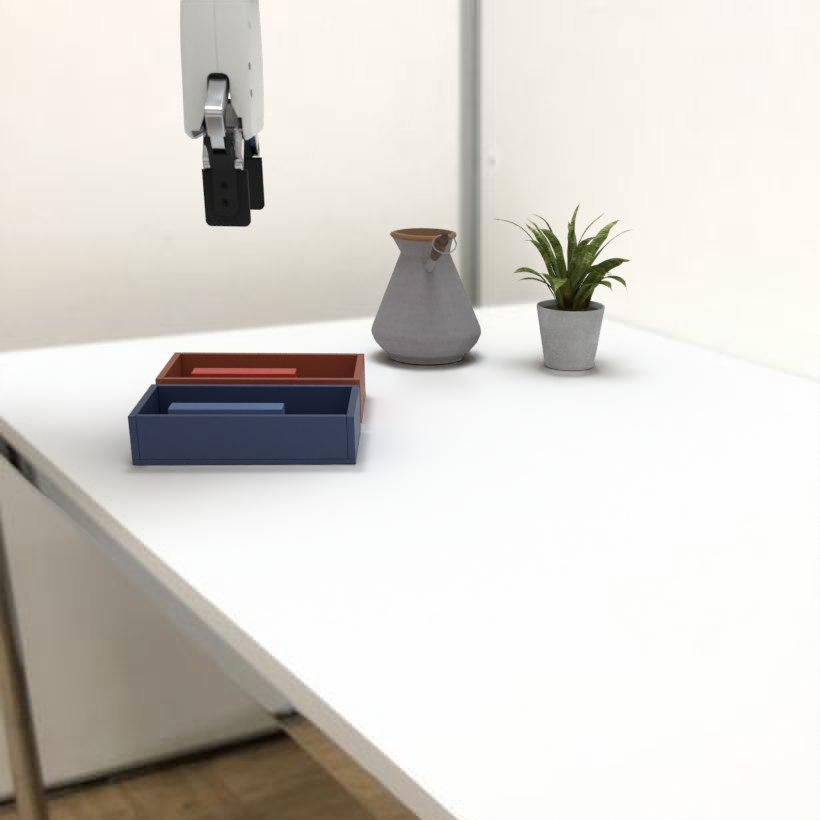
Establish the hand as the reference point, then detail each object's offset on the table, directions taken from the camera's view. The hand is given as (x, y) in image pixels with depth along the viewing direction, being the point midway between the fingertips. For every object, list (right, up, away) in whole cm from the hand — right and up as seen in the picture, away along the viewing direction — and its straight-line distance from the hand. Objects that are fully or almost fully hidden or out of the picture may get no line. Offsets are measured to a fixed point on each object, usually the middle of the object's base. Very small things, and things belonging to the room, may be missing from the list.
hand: (236, 217), depth 105 cm
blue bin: (-1, -17, +7) cm, 18 cm away
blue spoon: (0, -17, +7) cm, 18 cm away
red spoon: (-2, -12, +18) cm, 22 cm away
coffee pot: (+11, -6, +35) cm, 37 cm away
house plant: (+24, -5, +37) cm, 44 cm away
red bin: (-2, -12, +18) cm, 22 cm away
